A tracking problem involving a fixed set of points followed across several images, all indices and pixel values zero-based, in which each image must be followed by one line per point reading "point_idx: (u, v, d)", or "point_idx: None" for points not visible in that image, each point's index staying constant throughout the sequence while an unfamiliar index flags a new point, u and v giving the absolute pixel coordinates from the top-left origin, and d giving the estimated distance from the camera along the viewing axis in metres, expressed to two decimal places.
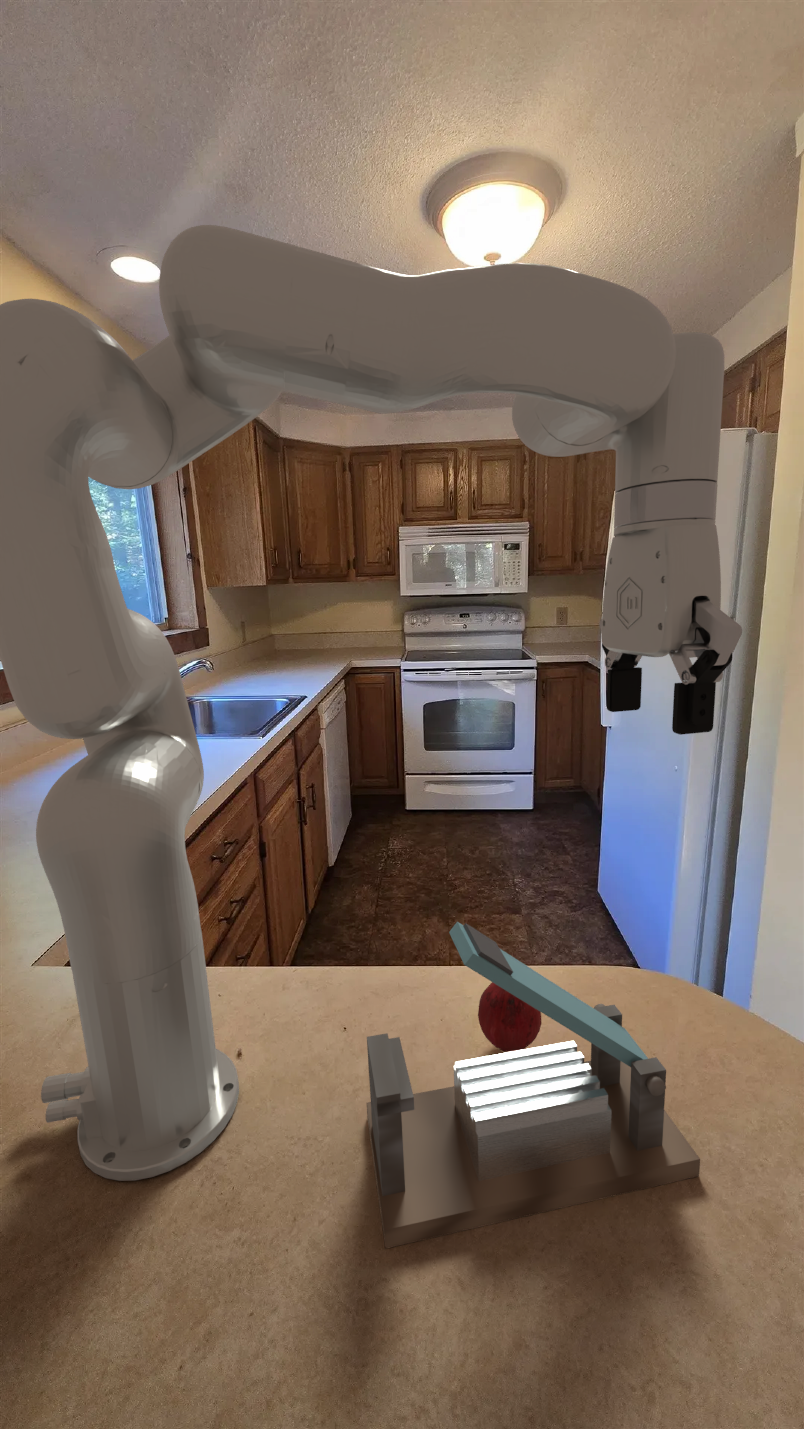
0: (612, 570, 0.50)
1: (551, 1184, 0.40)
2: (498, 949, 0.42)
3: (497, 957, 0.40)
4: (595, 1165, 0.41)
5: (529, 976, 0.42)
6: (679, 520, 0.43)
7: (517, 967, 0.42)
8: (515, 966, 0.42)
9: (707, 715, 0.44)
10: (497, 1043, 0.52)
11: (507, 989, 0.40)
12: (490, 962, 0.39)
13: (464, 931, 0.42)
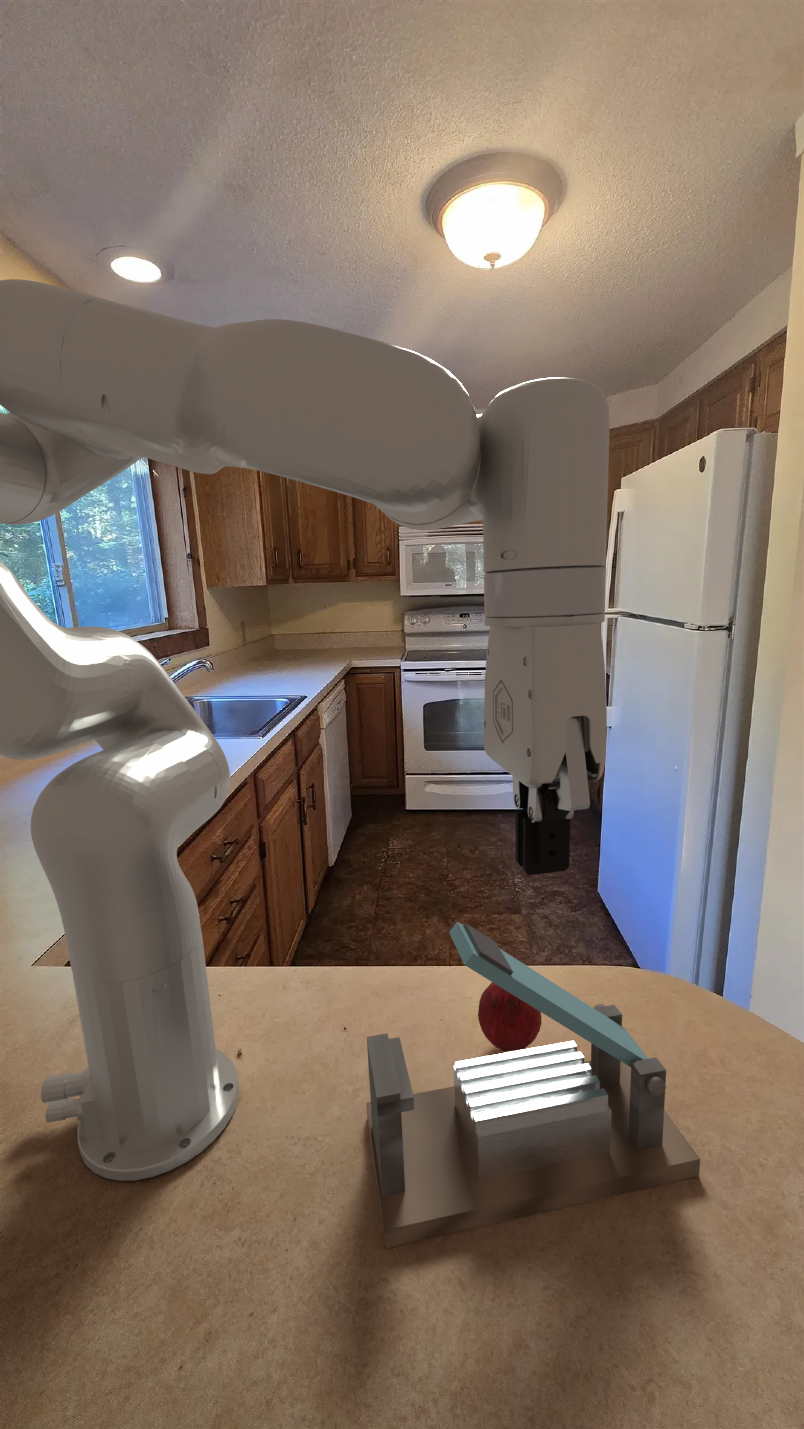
0: (489, 664, 0.40)
1: (551, 1184, 0.40)
2: (498, 949, 0.42)
3: (497, 957, 0.40)
4: (595, 1165, 0.41)
5: (529, 976, 0.42)
6: (551, 618, 0.34)
7: (517, 967, 0.42)
8: (515, 966, 0.42)
9: (558, 855, 0.39)
10: (497, 1043, 0.52)
11: (507, 989, 0.40)
12: (490, 962, 0.39)
13: (464, 931, 0.42)
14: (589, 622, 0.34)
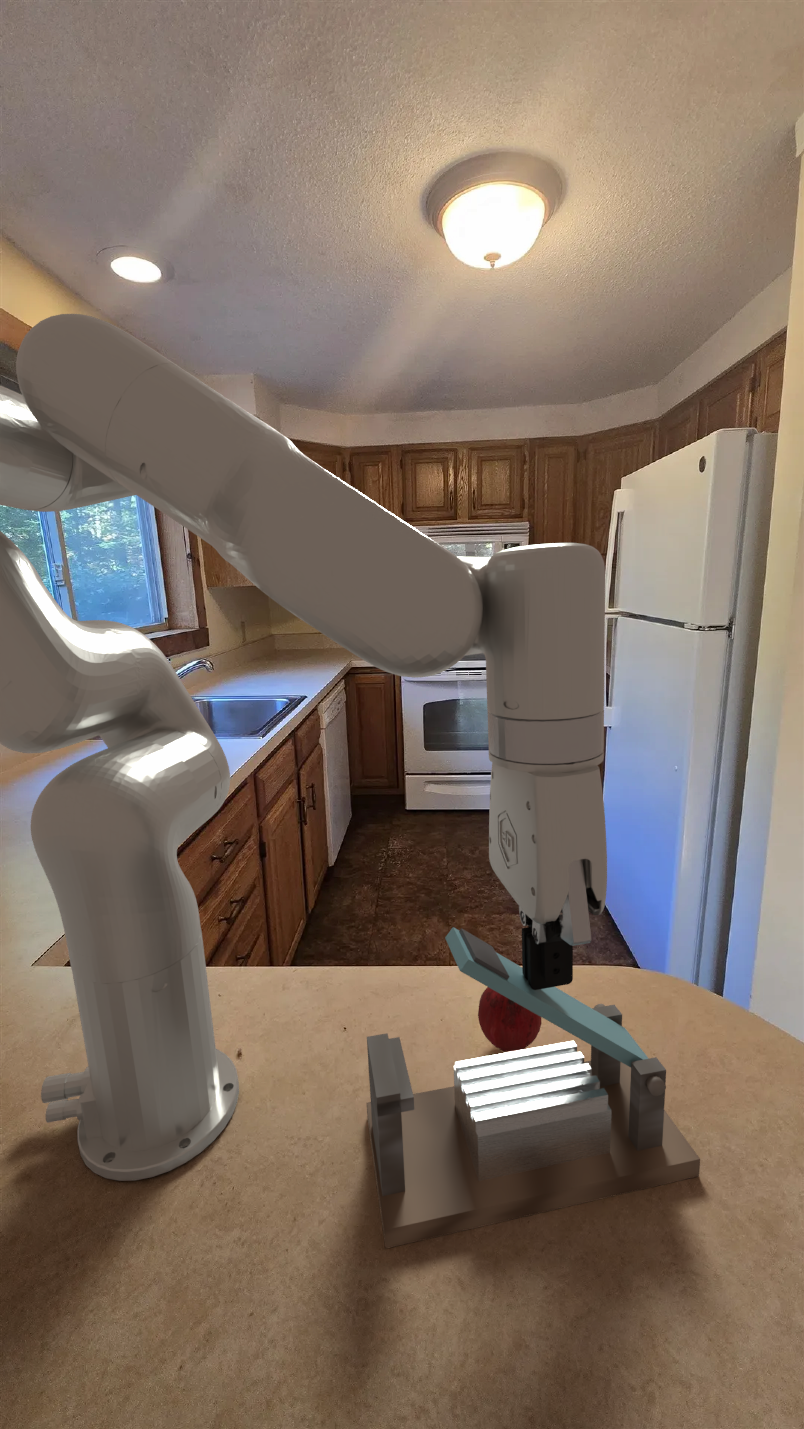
0: (493, 787, 0.42)
1: (551, 1184, 0.40)
2: (494, 953, 0.42)
3: (493, 962, 0.40)
4: (595, 1165, 0.41)
5: None
6: (552, 766, 0.35)
7: (514, 971, 0.42)
8: (512, 970, 0.42)
9: (562, 973, 0.41)
10: (497, 1043, 0.52)
11: (504, 994, 0.40)
12: (486, 967, 0.39)
13: (460, 936, 0.42)
14: (589, 767, 0.36)
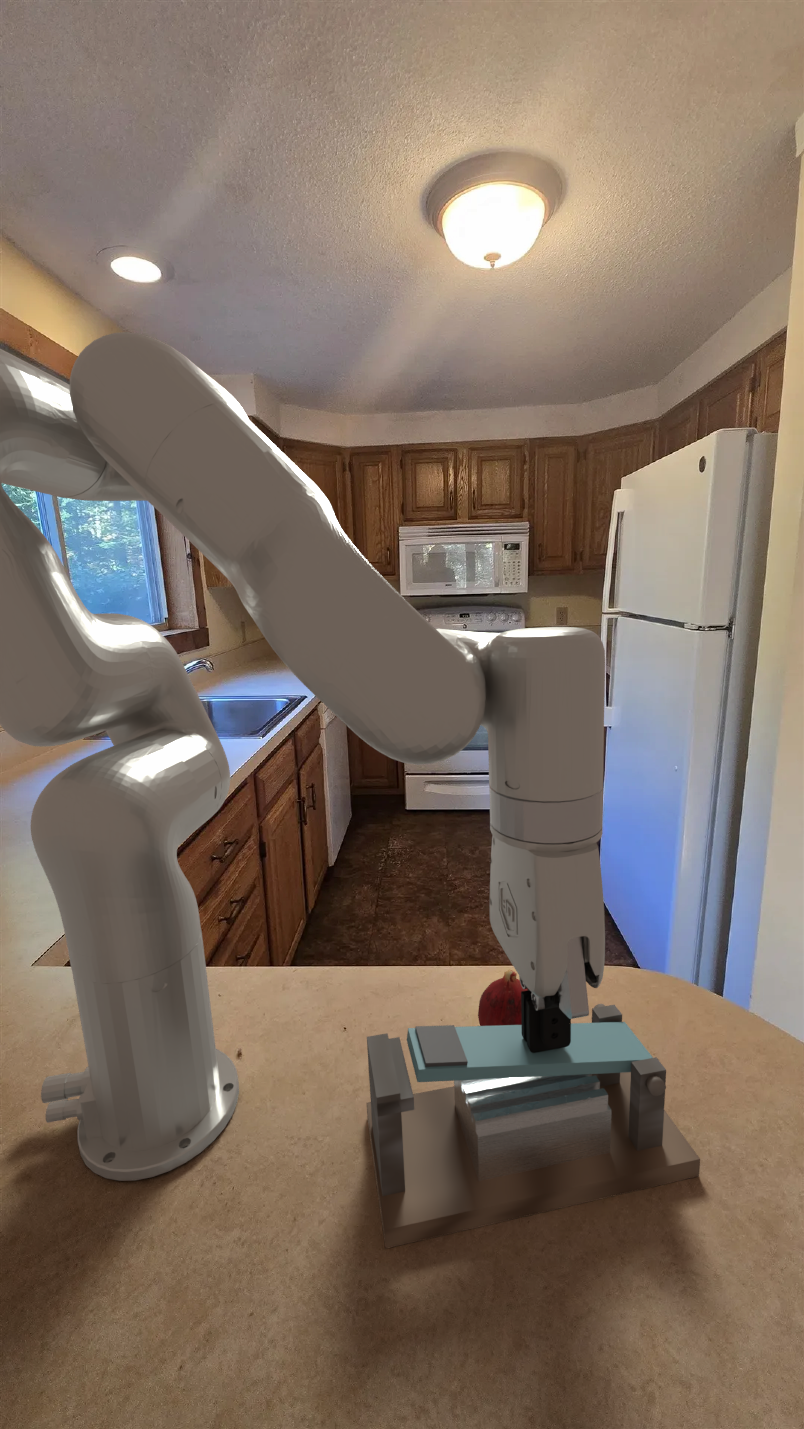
0: (494, 854, 0.43)
1: (551, 1184, 0.40)
2: (454, 1036, 0.43)
3: (449, 1053, 0.41)
4: (595, 1165, 0.41)
5: (496, 1043, 0.43)
6: (552, 845, 0.36)
7: (481, 1040, 0.43)
8: (478, 1041, 0.43)
9: (560, 1037, 0.42)
10: None
11: (470, 1078, 0.40)
12: (440, 1066, 0.40)
13: (415, 1037, 0.43)
14: (588, 845, 0.37)
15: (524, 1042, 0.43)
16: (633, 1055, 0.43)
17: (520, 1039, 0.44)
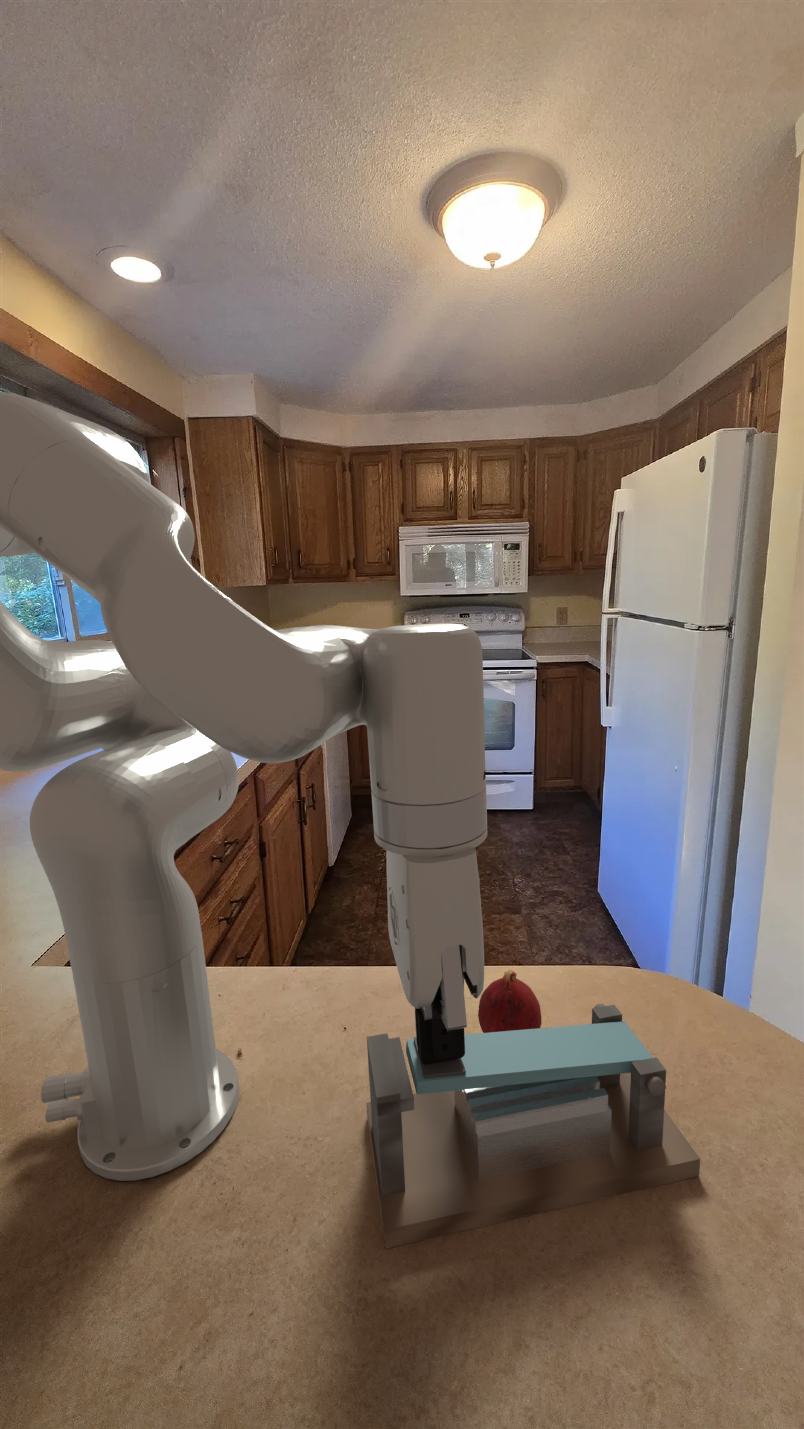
0: None
1: (551, 1184, 0.40)
2: None
3: (447, 1063, 0.41)
4: (595, 1165, 0.41)
5: (494, 1050, 0.43)
6: (426, 850, 0.35)
7: (480, 1048, 0.43)
8: (477, 1049, 0.43)
9: (451, 1048, 0.40)
10: None
11: (470, 1087, 0.41)
12: (439, 1077, 0.40)
13: (413, 1049, 0.43)
14: (465, 850, 0.35)
15: (523, 1048, 0.43)
16: (633, 1055, 0.43)
17: (519, 1045, 0.44)
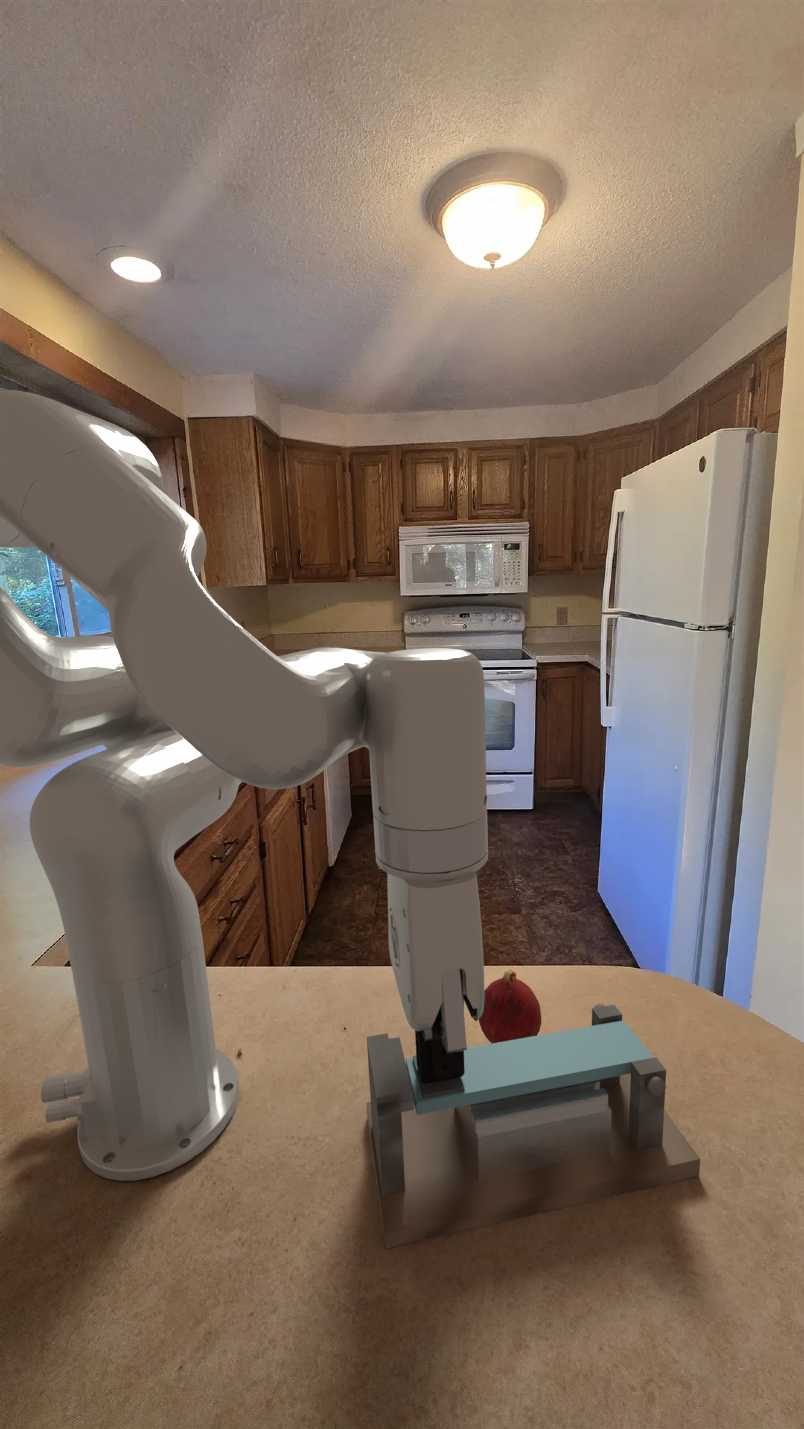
0: None
1: (551, 1184, 0.40)
2: None
3: (446, 1080, 0.41)
4: (595, 1165, 0.41)
5: (493, 1062, 0.43)
6: (427, 875, 0.35)
7: (478, 1062, 0.43)
8: (476, 1063, 0.43)
9: (451, 1068, 0.41)
10: None
11: (470, 1103, 0.41)
12: (437, 1096, 0.40)
13: (413, 1068, 0.43)
14: (466, 874, 0.36)
15: (522, 1057, 0.44)
16: (632, 1056, 0.43)
17: (518, 1055, 0.44)
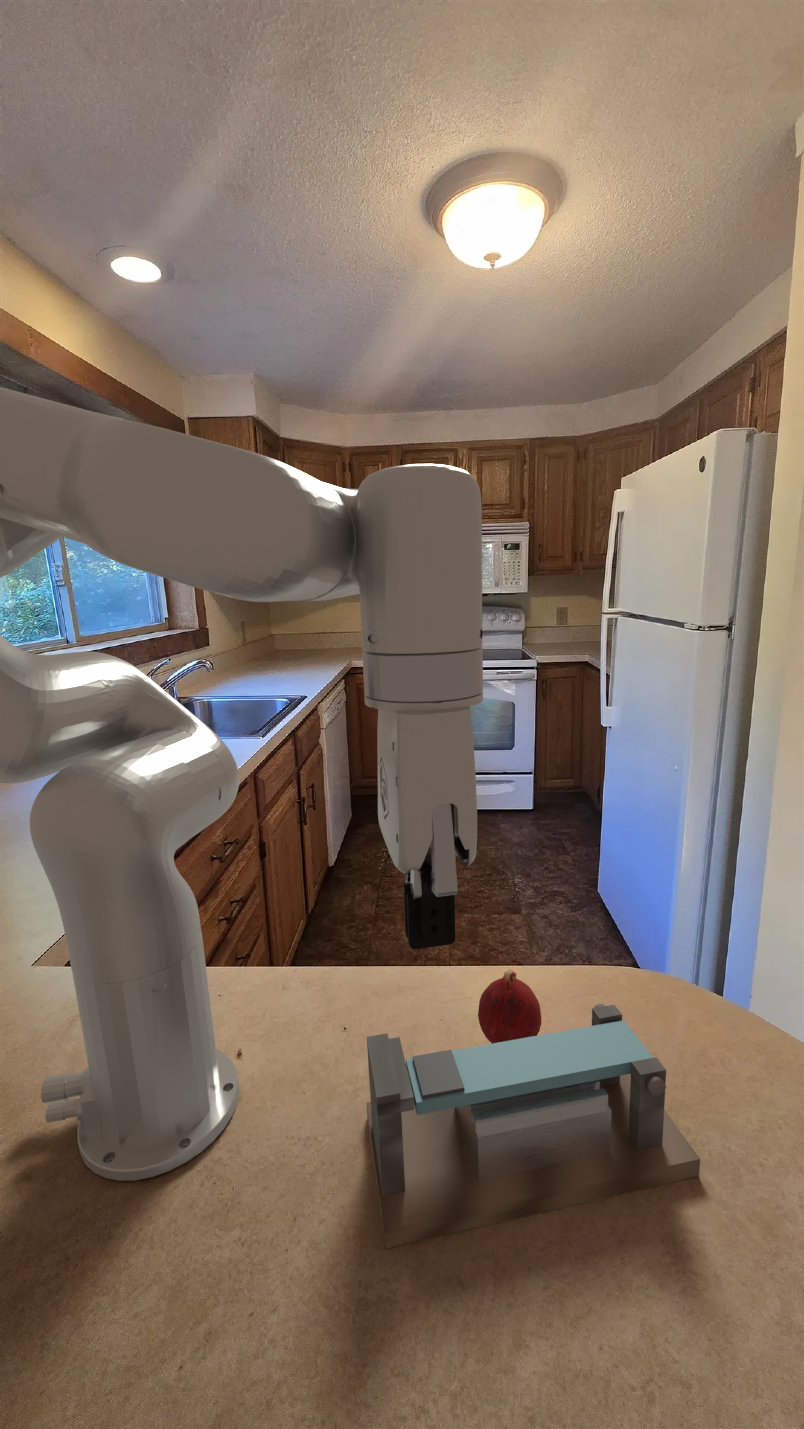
0: (377, 736, 0.40)
1: (551, 1184, 0.40)
2: (451, 1061, 0.43)
3: (446, 1080, 0.41)
4: (595, 1165, 0.41)
5: (493, 1062, 0.43)
6: (418, 704, 0.33)
7: (478, 1062, 0.43)
8: (476, 1063, 0.43)
9: (441, 931, 0.39)
10: None
11: (470, 1103, 0.41)
12: (437, 1096, 0.40)
13: (413, 1068, 0.43)
14: (459, 707, 0.34)
15: (522, 1057, 0.44)
16: (632, 1056, 0.43)
17: (518, 1055, 0.44)
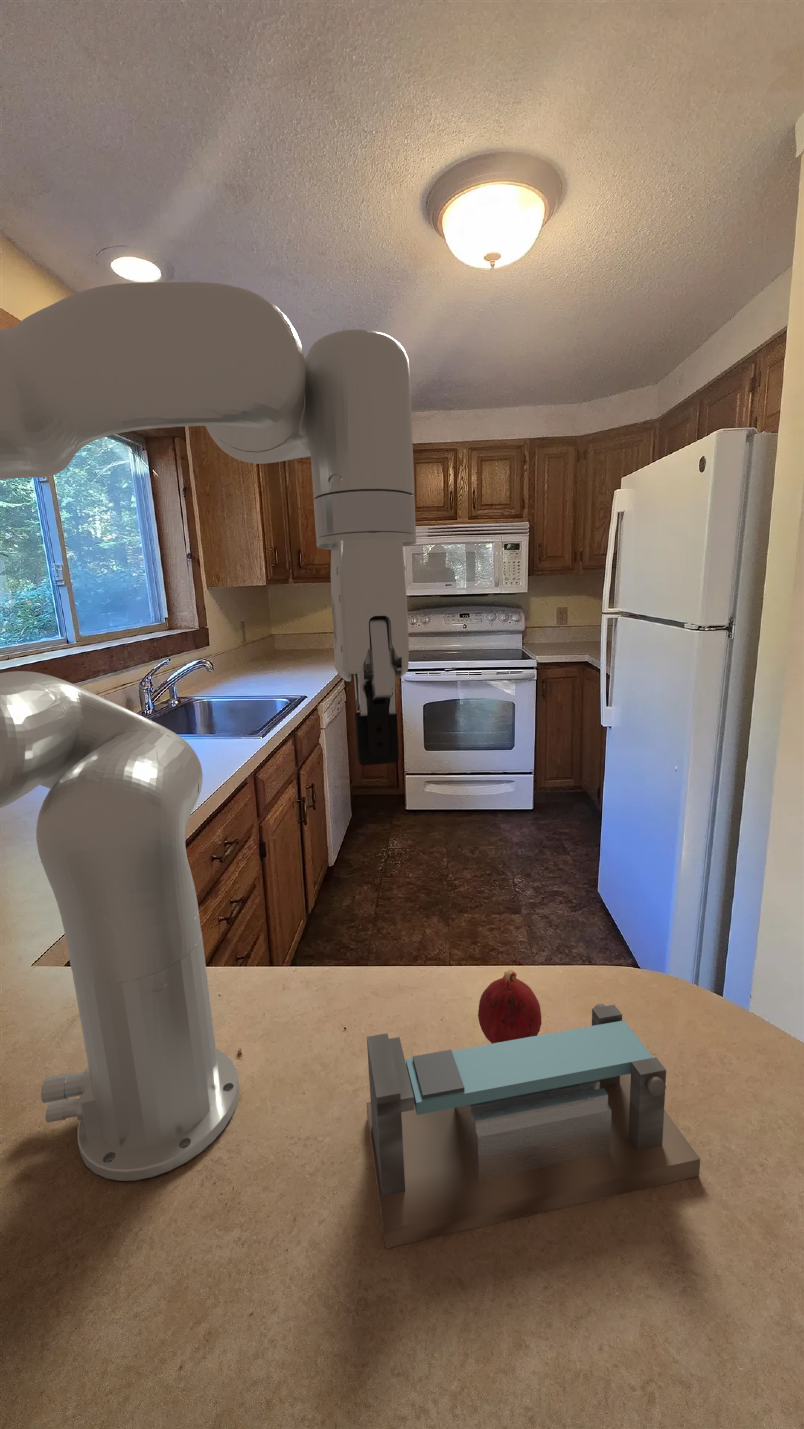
0: None
1: (551, 1184, 0.40)
2: (451, 1061, 0.43)
3: (446, 1080, 0.41)
4: (595, 1165, 0.41)
5: (493, 1062, 0.43)
6: (357, 534, 0.40)
7: (478, 1062, 0.43)
8: (476, 1063, 0.43)
9: (385, 747, 0.45)
10: None
11: (470, 1103, 0.41)
12: (437, 1096, 0.40)
13: (413, 1068, 0.43)
14: (392, 538, 0.41)
15: (522, 1057, 0.44)
16: (632, 1056, 0.43)
17: (518, 1055, 0.44)
